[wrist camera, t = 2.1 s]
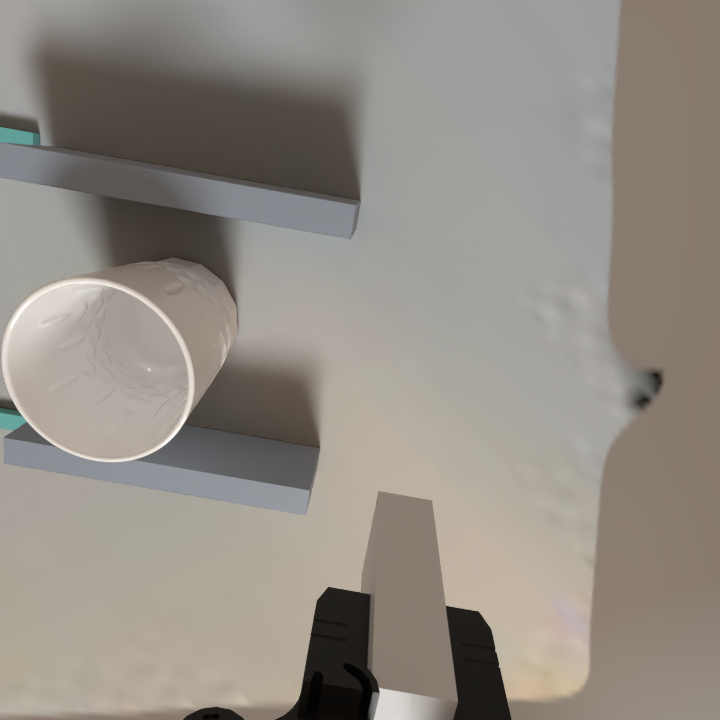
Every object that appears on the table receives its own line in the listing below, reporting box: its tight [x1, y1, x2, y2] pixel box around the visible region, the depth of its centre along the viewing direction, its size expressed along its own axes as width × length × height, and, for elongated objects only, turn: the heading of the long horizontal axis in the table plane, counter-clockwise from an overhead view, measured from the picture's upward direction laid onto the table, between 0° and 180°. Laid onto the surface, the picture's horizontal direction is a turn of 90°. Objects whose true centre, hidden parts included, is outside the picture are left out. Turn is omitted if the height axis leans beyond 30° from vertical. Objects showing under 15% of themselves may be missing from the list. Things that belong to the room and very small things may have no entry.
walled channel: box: [0, 142, 361, 515], centre depth 31 cm, size 16×16×5 cm
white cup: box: [1, 257, 238, 462], centre depth 29 cm, size 8×8×10 cm
